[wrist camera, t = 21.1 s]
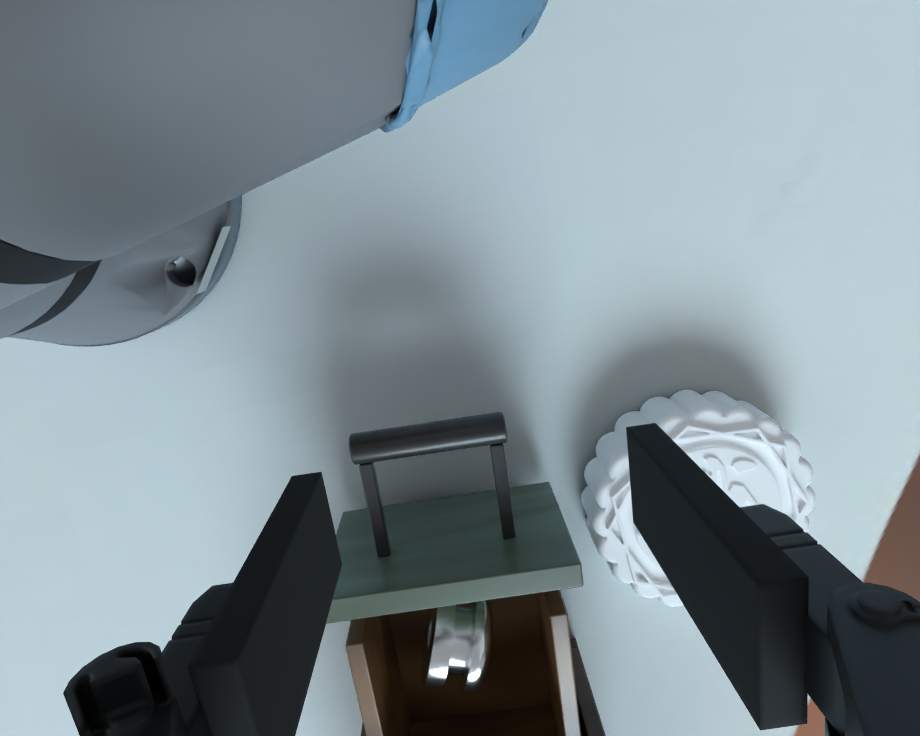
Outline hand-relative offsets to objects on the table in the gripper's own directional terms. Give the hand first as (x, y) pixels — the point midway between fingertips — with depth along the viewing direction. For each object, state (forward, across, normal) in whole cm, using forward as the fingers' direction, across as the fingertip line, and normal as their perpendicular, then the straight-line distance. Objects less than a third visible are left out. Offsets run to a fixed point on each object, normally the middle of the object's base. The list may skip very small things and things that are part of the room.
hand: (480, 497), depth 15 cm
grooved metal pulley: (+15, -2, -14) cm, 21 cm away
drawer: (+16, -2, -12) cm, 20 cm away
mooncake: (+17, +12, -10) cm, 23 cm away
